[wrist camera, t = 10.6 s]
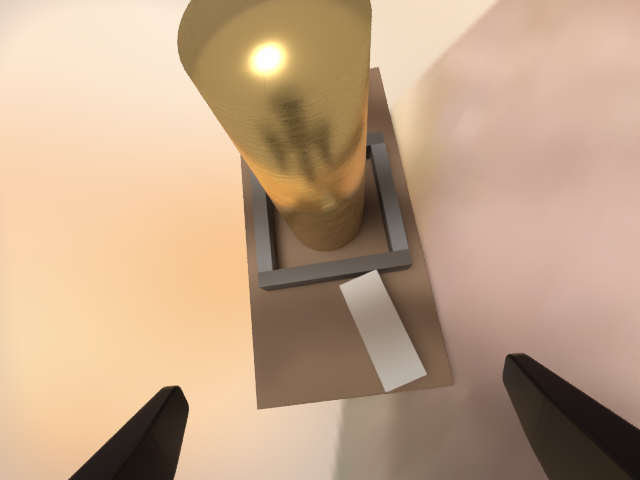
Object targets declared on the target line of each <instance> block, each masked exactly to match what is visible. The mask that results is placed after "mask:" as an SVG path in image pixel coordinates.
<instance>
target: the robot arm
mask: <svg viewBox="0 0 640 480" xmlns="http://www.w3.org/2000/svg"><path fill="white" fill-rule="evenodd" d="M503 382H504V385H505V387H506V390H507V392H508V394H509V397H510V399H511V401H512V404H513V406H514V408H515V411H516V413H517V415H518V418H519V420H520V422H521V425H522V427H523V429H524V432H525V434H526V436H527V438H528V441H529V443H530V445H531V447H532V449H533V451H534V453H535V455H536V456H537V458H538V460H539V462H540V464H541V466H542V467H543V469H544V471H545V473H546V475H547V476H548V478H549V480H640V430H639V429H638V428H636V427H635V426H633V425H632V424H630V423H629V422H627V421H626V420H624V419H623V418H621V417H620V416H618V415H617V414H615V413H614V412H612V411H611V410H609V409H608V408H606V407H605V406H603V405H602V404H600V403H599V402H597V401H596V400H594V399H593V398H591V397H590V396H588V395H587V394H585V393H584V392H582V391H581V390H579V389H578V388H576V387H575V386H573V385H572V384H570V383H569V382H567V381H566V380H564V379H563V378H561V377H560V376H558V375H557V374H555V373H554V372H552V371H551V370H549V369H548V368H546V367H544V366H543V365H541V364H540V363H538V362H537V361H535V360H534V359H532V358H531V357H529V356H528V355H526V354H524V353H515V354H508V355H507V356H506V359H505V365H504V370H503ZM188 412H189V405H188V402H187V400H186V398H185V396H184V394H183V392H182V390H181V388H180V387H179V386H167V387H163V388H162V389H161V390H160V391H159V392H158V393H157V394H156V395H155V396H154V397H152V399H150V400H149V401H148V402H147V403H146V404H145V405H144V406H143V407H142V408H141V409H140V410H139V411H138V412H137V413H136V414H135V415H134V416H133V417H132V418H131V419H130V420H129V421H128V422H127V423H126V424H125V425H124V426H123V427H122V428H121V429H120V430H119V431H118V432H117V433H116V434H115V435H114V436H113V437H112V438H110V439H109V440H108V441H107V442H106V443H105V444H104V445H103V446H102V447H101V448H100V449H99V450H98V451H97V452H96V453H95V454H94V455H93V456H92V457H91V458H90V459H89V460H88V461H87V462H86V463H85V464H84V465H83V466H82V467H81V468H80V469H79V470H78V471H77V472H76V473H75V474H74V475H72V476H71V478H69V479H68V480H174V476H175V473H176V469H177V464H178V460H179V455H180V450H181V446H182V441H183V436H184V432H185V427H186V423H187V418H188Z"/></svg>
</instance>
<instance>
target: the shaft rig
mask: <svg viewBox="0 0 640 480" xmlns="http://www.w3.org/2000/svg"><path fill="white" fill-rule="evenodd" d="M241 168H242V184H243V198H244V213H245V229H246V244H247V258H248V274H249V288H250V304H251V319H252V335H253V350H254V365H255V379H256V395H257V408H258V409H265V408H273V407H281V406H290V405H298V404H305V403H314V402H321V401H329V400H338V399H346V398H354V397H362V396H370V395H378V394H386V393H394V392H402V391H410V390H418V389H426V388H434V387H442V386H450V385H454V383H453V379H452V374H451V370H450V366H449V362H448V357H447V353H446V349H445V345H444V341H443V336H442V332H441V328H440V324H439V319H438V315H437V311H436V307H435V303H434V298H433V294H432V290H431V286H430V282H429V277H428V273H427V269H426V265H425V260H424V256H423V252H422V248H421V244H420V239H419V235H418V231H417V227H416V222H415V218H414V214H413V210H412V206H411V201H410V197H409V193H408V189H407V185H406V180H405V176H404V172H403V168H402V163H401V159H400V155H399V151H398V147H397V142H396V138H395V134H394V130H393V126H392V121H391V117H390V113H389V109H388V104H387V100H386V96H385V92H384V88H383V84H382V79H381V75H380V71H379V67H377V68H372V69H369V91H368V114H367V138H366V162H365V185H364V209H363V222H362V226H361V229H360V231H359V233H358V234H357V236H356V237H355V238H354V239H353V240H352V241H351V242H350V243H349V244H347V245H346V246H344V247H342V248H340V249H337V250H334V251H327V252H326V251H316V250H313V249H310V248H308V247H306V246H305V245H303V244H302V243H301V242H300V241H299V240H298V239H297V238H296V236H295V235H294V233H293V232H292V230H291V229H290V227H289V226H288V224H287V223H286V221H285V220H284V218H283V217H282V215H281V214H280V212H279V211H278V209H277V208H276V206H275V205H274V203H273V202H272V200H271V199H270V197H269V196H268V194H267V193H266V191H265V190H264V188H263V187H262V185H261V184H260V182H259V181H258V179H257V178H256V176H255V175H254V173H253V172H252V170H251V169H250V167H249V166H248V164H247V163H246V161H245V160H244V158H243V157H242V155H241Z"/></svg>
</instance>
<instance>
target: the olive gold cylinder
mask: <svg viewBox="0 0 640 480" xmlns="http://www.w3.org/2000/svg"><path fill="white" fill-rule="evenodd" d="M371 12H372V9H371V3H370V0H191V1H190V3H189V4H188V6H187V8H186V10H185V12H184V14H183V17H182V20H181V22H180V26H179V30H178V41H177V43H178V53H179V56H180V60H181V62H182V65H183V67H184V69H185V71H186V73H187V74H188V76H189V77H190V79H191V80H192V81H193V83H194V84H195V86H196V87H197V89H198V90H199V92H200V94H201V95H202V97H203V98H204V99H205V101H206V103H207V104H208V106H209V107H210V109H211V110H212V112H213V113H214V115H215V116H216V117H217V119H218V121H219V122H220V124H221V125H222V126H223V127H224V130H225V131H226V133H227V134H228V135H229V137H230V139H231V140H232V141H233V143H234V145H235V146H236V148H237V149H238V151H239V152H240V154H241V155H242V157H243V158H244V160H245V161H246V163H247V164H248V166H249V167H250V169H251V170H252V172H253V173H254V175H255V176H256V178H257V179H258V181H259V182H260V184H261V185H262V187H263V188H264V190H265V191H266V193H267V194H268V196H269V197H270V199H271V200H272V202H273V203H274V205H275V206H276V208H277V209H278V211H279V212H280V214H281V215H282V217H283V218H284V220H285V221H286V223H287V224H288V226H289V227H290V229H291V230H292V232H293V233H294V235H295V236H296V238H297V239H298V240H299V241H300V242H301V243H302V244H303V245H305V246H306V247H308V248H310V249H313V250H316V251H326V252H327V251H334V250H337V249H340V248H342V247H344V246H346V245H347V244H349V243H350V242H351V241H352V240H353V239H354V238H355V237H356V236H357V234H358V233H359V231H360V229H361V226H362V222H363V209H364V185H365V162H366V138H367V114H368V91H369V67H370V43H371V17H372V15H371V14H372V13H371Z"/></svg>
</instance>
